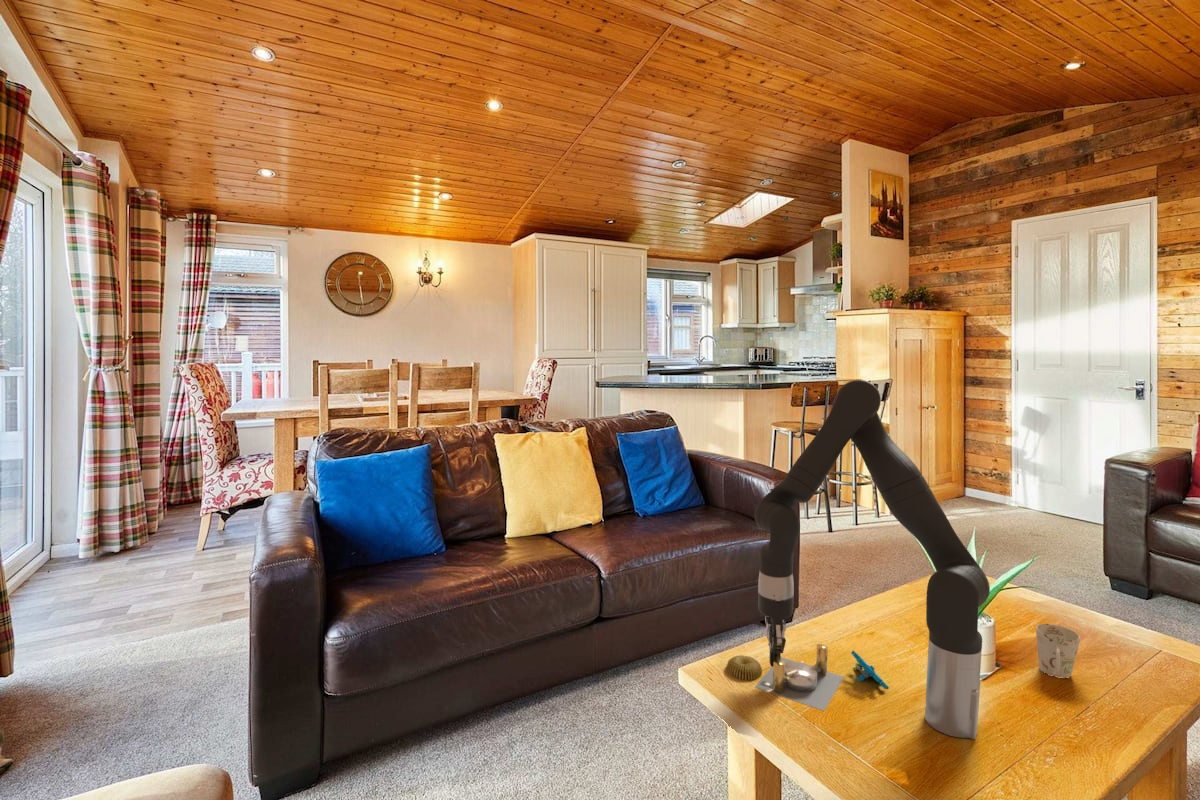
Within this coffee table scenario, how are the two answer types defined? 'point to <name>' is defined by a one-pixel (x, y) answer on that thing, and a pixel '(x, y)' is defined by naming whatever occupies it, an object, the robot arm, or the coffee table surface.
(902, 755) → the coffee table surface
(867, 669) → the gear
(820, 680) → the board
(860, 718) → the coffee table surface
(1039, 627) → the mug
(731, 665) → the sculpture
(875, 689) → the coffee table surface
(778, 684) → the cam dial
